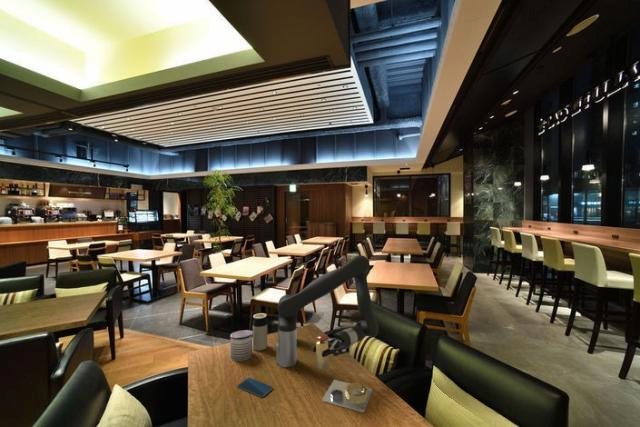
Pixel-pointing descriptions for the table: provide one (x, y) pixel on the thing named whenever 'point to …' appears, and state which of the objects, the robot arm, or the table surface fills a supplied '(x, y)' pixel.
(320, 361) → the brass valve
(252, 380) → the smartphone
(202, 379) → the table surface
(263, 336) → the travel mug
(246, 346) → the can
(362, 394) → the fitting plate
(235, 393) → the table surface
